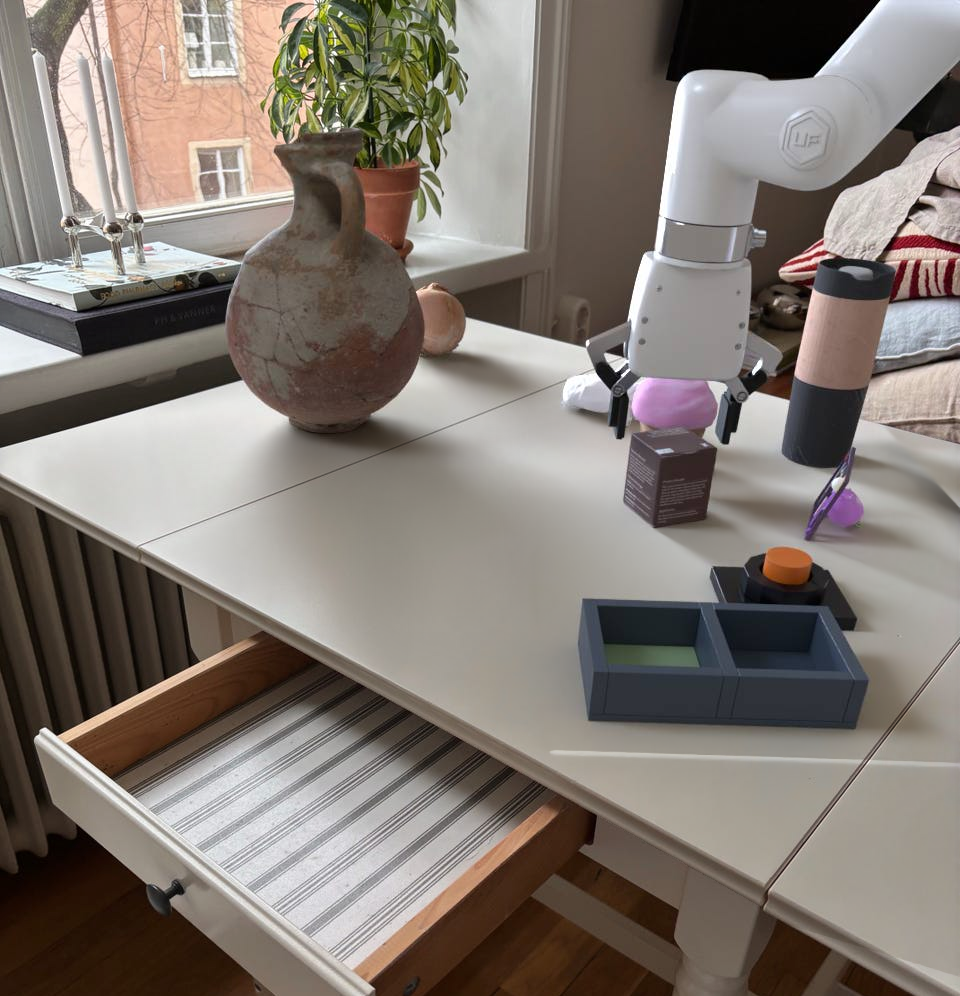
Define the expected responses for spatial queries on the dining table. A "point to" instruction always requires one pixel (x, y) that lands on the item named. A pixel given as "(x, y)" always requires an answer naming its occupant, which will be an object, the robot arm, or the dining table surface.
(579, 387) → the bird figurine
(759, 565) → the push button base
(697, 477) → the box
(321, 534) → the dining table surface
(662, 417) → the cupcake
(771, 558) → the button
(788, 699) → the holder
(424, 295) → the onion
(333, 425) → the jug
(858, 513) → the purple framed ornament
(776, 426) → the dining table surface
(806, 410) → the travel mug
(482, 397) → the dining table surface
